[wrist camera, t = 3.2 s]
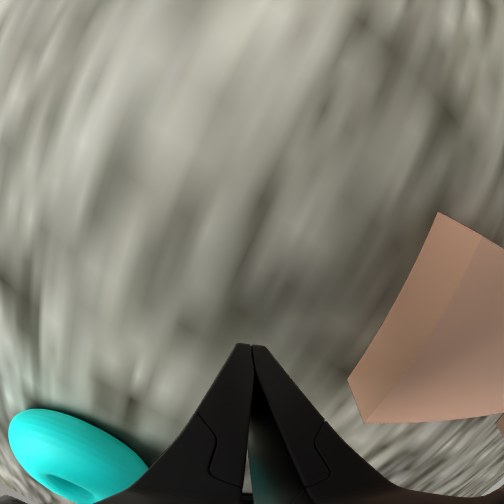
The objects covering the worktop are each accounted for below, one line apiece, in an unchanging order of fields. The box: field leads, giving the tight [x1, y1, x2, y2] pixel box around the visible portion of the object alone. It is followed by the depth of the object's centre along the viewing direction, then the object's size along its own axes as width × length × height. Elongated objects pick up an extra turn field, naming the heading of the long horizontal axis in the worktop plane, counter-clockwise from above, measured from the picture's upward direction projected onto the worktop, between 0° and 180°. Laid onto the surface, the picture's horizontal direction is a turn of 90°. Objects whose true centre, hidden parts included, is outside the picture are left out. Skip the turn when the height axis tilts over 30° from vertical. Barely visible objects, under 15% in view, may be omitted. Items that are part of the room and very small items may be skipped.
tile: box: [347, 212, 504, 423], centre depth 11 cm, size 15×8×3 cm, turn 72°
